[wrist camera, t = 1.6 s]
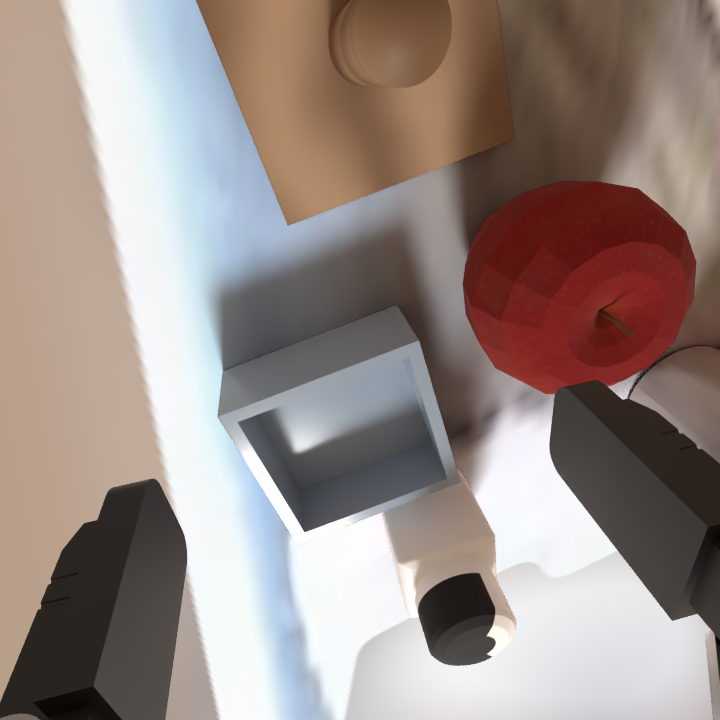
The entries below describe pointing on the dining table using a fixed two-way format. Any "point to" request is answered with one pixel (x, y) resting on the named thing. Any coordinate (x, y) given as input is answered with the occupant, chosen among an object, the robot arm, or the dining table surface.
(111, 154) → the dining table surface
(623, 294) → the apple
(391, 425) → the grey open box
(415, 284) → the dining table surface
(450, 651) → the medicine bottle
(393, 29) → the lid
